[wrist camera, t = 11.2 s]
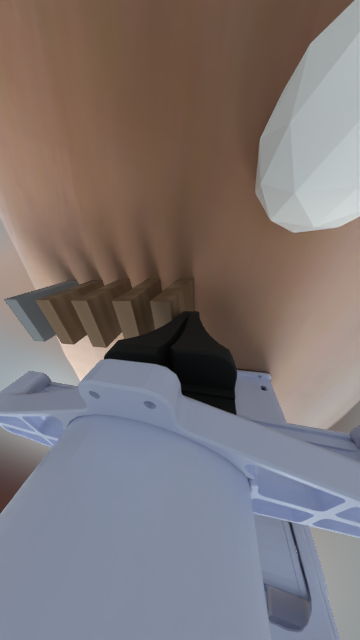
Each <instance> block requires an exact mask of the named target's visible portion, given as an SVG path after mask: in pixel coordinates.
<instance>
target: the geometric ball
mask: <svg viewBox="0 0 360 640" xmlns="http://www.w3.org/2000/svg"><path fill="white" fill-rule="evenodd" d="M255 194H256V196H257V197H258V199H259V201H260V203H261V205H262V206H263V208H264V210H265V212H266V213H267V215H268V217H269V219H270V220H271V221H273V222H274V223H276V224H278V225H280V226H282V227H284V228H286V229H288V230H289V231H291V232H293V233H296V232H305V231H313V230H321V229H330V228H338V227H340V226H342V225H344V224H346V223H348V222H350V221H352V220H354V219H355V218H357V217H359V216H360V0H354V1H353V2H352V3H351V4H350V5H349V6H348V7H347V8H346V9H345V10H344V11H343V12H342V13H341V14H340V15H339V16H338V17H337V18H336V19H335V20H334V21H333V22H332V23H331V24H330V25H329V26H328V27H327V28H326V29H325V30H324V31H323V32H322V33H321V34H320V35H319V36H318V37H316V38H315V39H314V40H313V41H312V42H311V43H310V45H309V47H308V49H307V50H306V52H305V54H304V56H303V57H302V59H301V61H300V62H299V64H298V66H297V68H296V69H295V71H294V73H293V74H292V76H291V78H290V80H289V81H288V83H287V85H286V87H285V88H284V90H283V92H282V94H281V96H280V98H279V100H278V102H277V104H276V107H275V109H274V111H273V113H272V115H271V117H270V119H269V121H268V123H267V125H266V127H265V129H264V131H263V134H262V136H261V138H260V143H259V154H258V164H257V175H256V185H255Z"/></svg>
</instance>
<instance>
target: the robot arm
mask: <svg viewBox="0 0 360 640" xmlns="http://www.w3.org/2000/svg"><path fill="white" fill-rule="evenodd" d="M270 380H271V375H270V374H268V373H261V372H251V371H242V370H237V369H236V365H235V362H234V360H233V357H232V355H231V353H230V351H229V350H228V349H227V348H225V347H224V346H222V345H220V344H219V343H218V342H216V341H215V340H214V339H213V338H212V337H211V336H210V335H209V334H208V333H207V331H206V330H205V328H204V327H203V325H202V323H201V320H200V317H199V312H196V311H183V312H182V313H181V314H179V315H178V316H177V317H176V318H174V319H173V320H171V321H170V322H168V323H167V324H165V325H164V326H162V327H160V328H158V329H156V330H153V331H151V332H148V333H146V334H143V335H140V336H136V337H132V338H127V339H123V340H118V341H117V342H116V343H115V344H114V346H113V347H112V348H111V349H110V350H109V351H108V352H107V353H106V354H105V356H104V360H100V361H99V362H98V363H97V364H96V366H95V367H94V368H93V369H92V370H91V371H90V372H89V373H88V374H87V375H86V376H85V377H84V378H83V379H82V381H81V382H80V383H79V385H78V386H73V385H67V384H61V383H55V382H51V380H50V378H49V377H48V376H47V375H46V374H44V373H40V372H34V371H29V372H27V373H26V374H25V375H23V376H22V377H20V378H19V379H18V380H16V381H15V382H13V383H12V384H11V385H9V386H8V387H6V388H5V389H4V390H2V391H1V392H0V426H1V427H2V428H4V429H6V430H7V431H8V432H10V433H13V434H16V435H20V436H22V437H25V438H28V439H31V440H33V441H36V442H39V443H41V444H44V445H46V446H49V447H51V449H50V451H49V452H48V453H47V455H46V456H45V457H44V458H43V460H42V461H41V462H40V463H39V465H38V466H37V467H36V469H35V470H34V471H33V473H32V474H31V475H30V476H29V478H28V479H27V480H26V482H25V483H24V484H23V485H22V487H21V488H20V489H19V491H18V492H17V493H16V494H15V496H14V497H13V498H12V500H11V501H10V502H9V504H8V505H7V506H6V507H5V509H4V510H3V511H2V512H1V514H0V640H340V638H339V635H338V631H337V628H336V624H335V621H334V618H333V614H332V610H331V607H330V604H329V600H328V590H327V586H326V582H325V578H324V574H323V571H322V568H321V564H320V560H319V557H318V554H317V550H316V547H315V544H314V540H313V537H312V534H311V531H310V528H309V526H311V527H315V528H319V529H324V530H328V531H333V532H337V533H341V534H345V535H350V536H354V537H358V538H360V426H357V427H354V428H353V429H352V431H351V432H350V434H347V433H341V432H336V431H330V430H324V429H318V428H313V427H307V426H301V425H296V424H290V423H287V422H286V420H285V417H284V415H283V412H282V410H281V407H280V404H279V402H278V399H277V397H276V394H275V392H274V389H273V387H272V384H271V382H270ZM295 546H296V548H295ZM296 550H297V552H296ZM297 553H298V556H297Z"/></svg>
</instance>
